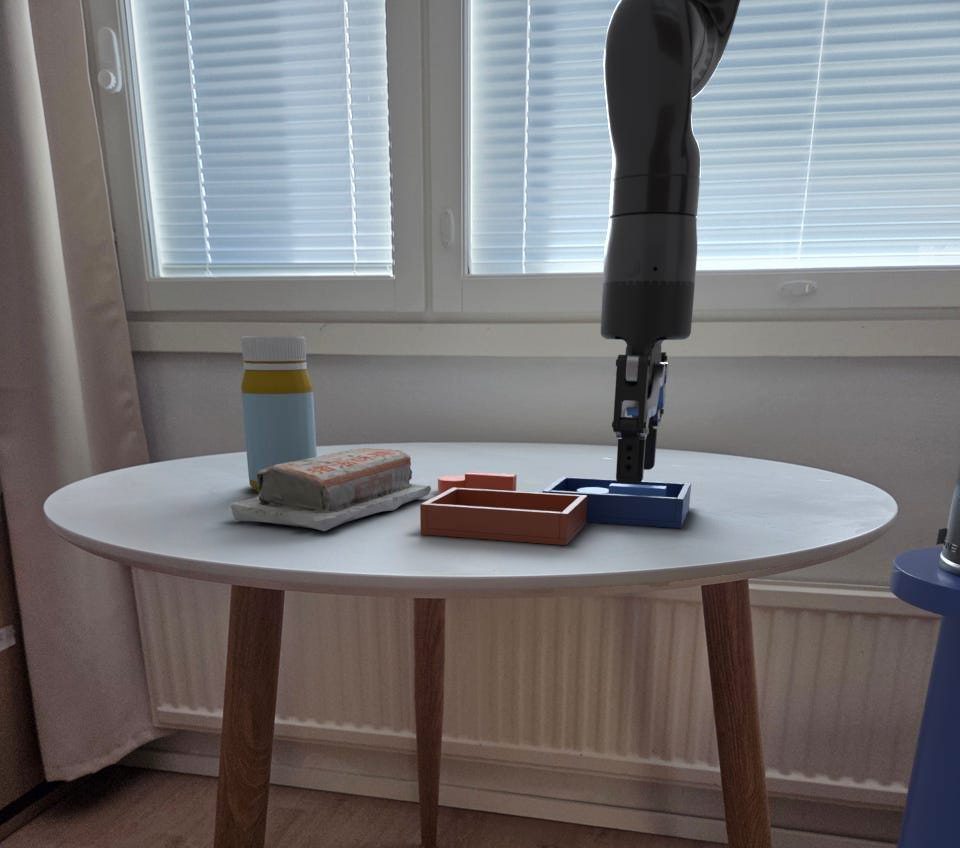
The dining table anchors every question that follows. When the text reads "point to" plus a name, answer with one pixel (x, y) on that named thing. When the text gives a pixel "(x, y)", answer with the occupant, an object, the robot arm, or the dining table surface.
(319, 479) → the packaged product
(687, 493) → the blue tray
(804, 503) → the dining table surface
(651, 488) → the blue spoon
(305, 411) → the bottle
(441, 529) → the terracotta tray
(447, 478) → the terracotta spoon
